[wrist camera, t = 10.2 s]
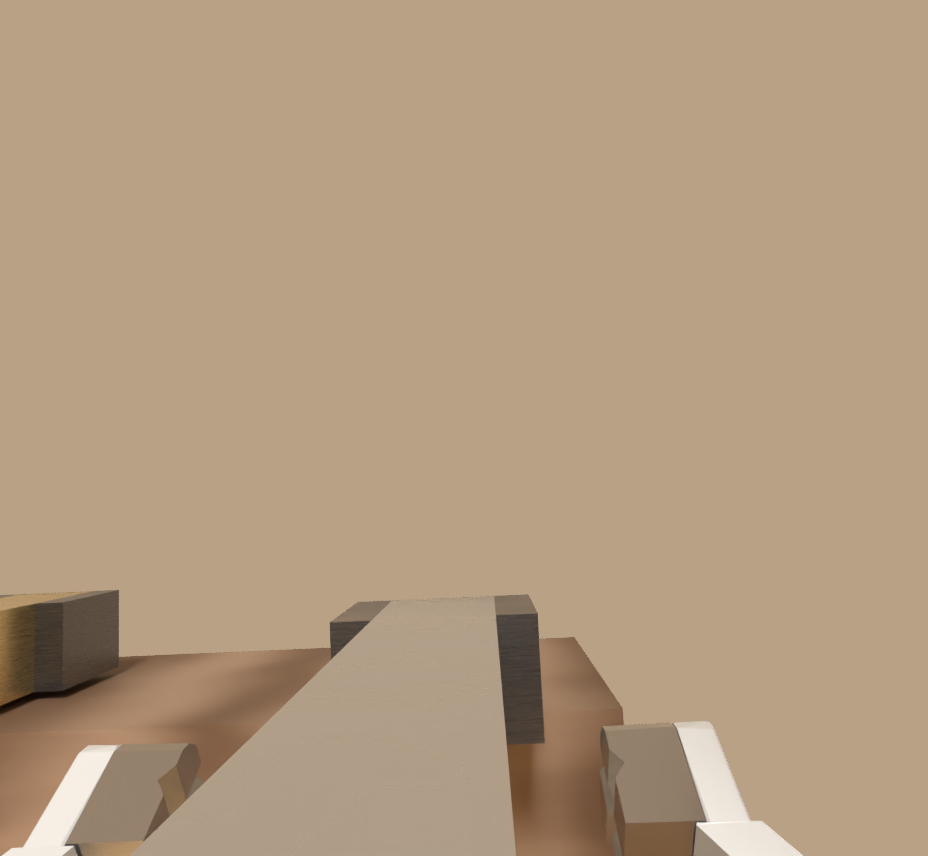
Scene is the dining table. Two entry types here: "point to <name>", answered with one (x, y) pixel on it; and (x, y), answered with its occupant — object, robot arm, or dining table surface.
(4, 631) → the brass handle
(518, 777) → the wooden box
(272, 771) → the steel handle
